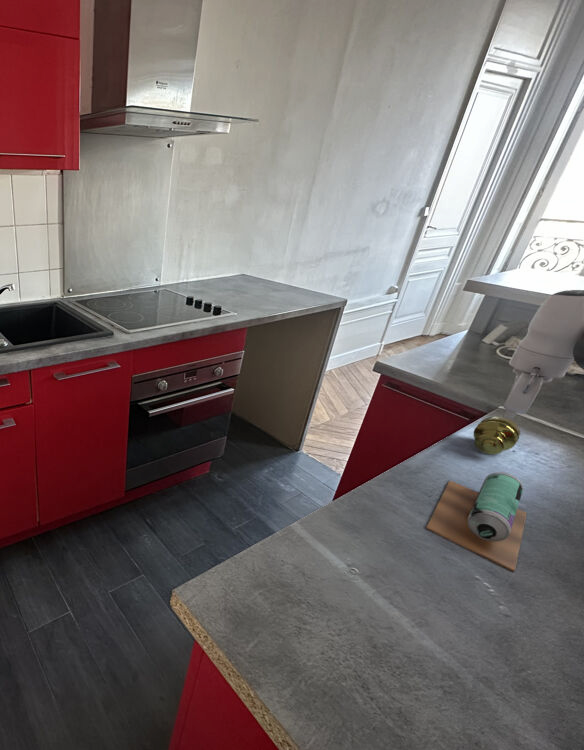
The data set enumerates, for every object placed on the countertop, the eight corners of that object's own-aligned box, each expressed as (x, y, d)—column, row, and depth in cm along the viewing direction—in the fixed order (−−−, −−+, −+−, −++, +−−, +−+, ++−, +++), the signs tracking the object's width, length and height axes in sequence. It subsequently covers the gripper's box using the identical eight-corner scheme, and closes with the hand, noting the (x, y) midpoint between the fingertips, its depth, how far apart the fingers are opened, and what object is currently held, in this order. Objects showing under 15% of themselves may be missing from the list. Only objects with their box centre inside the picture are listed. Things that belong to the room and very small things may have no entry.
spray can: (478, 485, 86) (456, 533, 74) (495, 467, 83) (475, 513, 71) (511, 503, 82) (494, 555, 71) (530, 484, 79) (516, 535, 68)
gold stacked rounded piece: (472, 418, 103) (460, 434, 98) (512, 413, 97) (501, 429, 91) (486, 446, 102) (474, 462, 97) (527, 442, 96) (517, 459, 91)
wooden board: (448, 481, 88) (449, 480, 88) (526, 514, 80) (527, 512, 80) (425, 528, 76) (426, 526, 76) (513, 572, 68) (515, 570, 68)
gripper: (556, 380, 82) (521, 437, 88) (562, 356, 95) (531, 407, 101) (514, 369, 86) (483, 425, 93) (524, 347, 99) (497, 397, 105)
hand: (508, 415), depth 97 cm, fingers closed
